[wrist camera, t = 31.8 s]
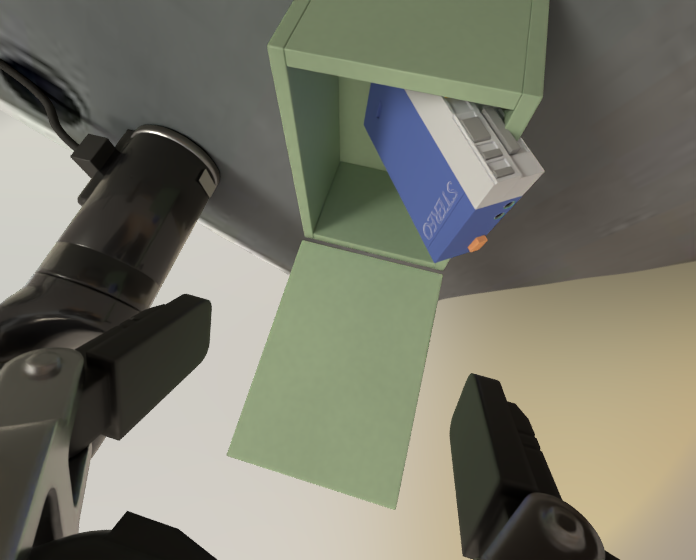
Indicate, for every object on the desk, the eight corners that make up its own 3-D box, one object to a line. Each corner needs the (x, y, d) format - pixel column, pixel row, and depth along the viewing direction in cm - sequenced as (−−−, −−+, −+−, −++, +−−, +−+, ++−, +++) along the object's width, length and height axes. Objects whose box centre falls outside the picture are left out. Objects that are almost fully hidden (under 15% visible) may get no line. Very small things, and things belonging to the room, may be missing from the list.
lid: (225, 455, 24) (249, 446, 29) (395, 510, 22) (387, 489, 28) (302, 239, 29) (310, 264, 34) (443, 274, 27) (429, 295, 33)
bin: (326, -57, 19) (266, 45, 15) (551, -22, 17) (543, 97, 14) (334, 158, 33) (304, 237, 29) (458, 186, 32) (443, 271, 28)
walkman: (397, 117, 26) (475, 255, 22) (362, 124, 25) (436, 268, 21) (431, -3, 19) (556, 172, 15) (384, 3, 18) (501, 188, 14)
